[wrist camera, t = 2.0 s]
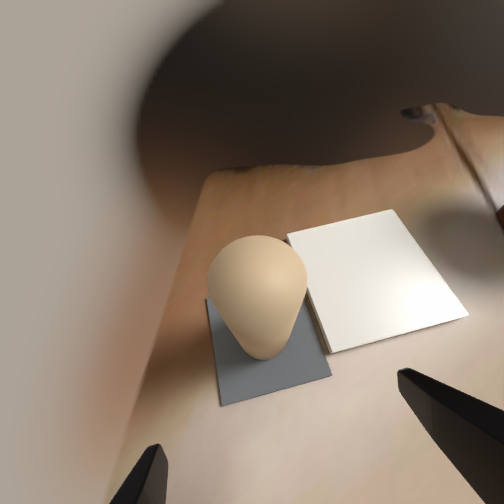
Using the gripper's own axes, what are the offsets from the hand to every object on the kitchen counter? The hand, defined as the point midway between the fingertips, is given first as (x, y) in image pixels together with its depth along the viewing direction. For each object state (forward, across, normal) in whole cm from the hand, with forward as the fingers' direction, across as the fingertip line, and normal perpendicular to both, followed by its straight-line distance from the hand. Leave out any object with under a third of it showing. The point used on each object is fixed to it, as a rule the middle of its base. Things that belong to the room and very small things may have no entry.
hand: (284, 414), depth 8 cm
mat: (+12, 0, +4) cm, 12 cm away
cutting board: (+14, -11, +2) cm, 18 cm away
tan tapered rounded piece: (+12, 0, +4) cm, 12 cm away
